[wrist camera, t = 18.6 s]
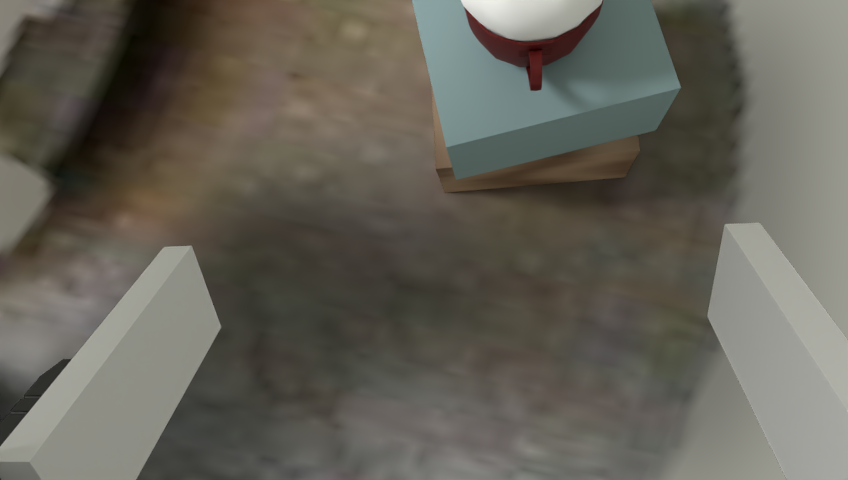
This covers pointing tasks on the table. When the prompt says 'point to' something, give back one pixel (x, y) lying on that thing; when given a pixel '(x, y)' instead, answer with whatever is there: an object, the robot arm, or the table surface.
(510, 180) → the tower base
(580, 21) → the cocoa
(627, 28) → the tower top
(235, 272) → the table surface
